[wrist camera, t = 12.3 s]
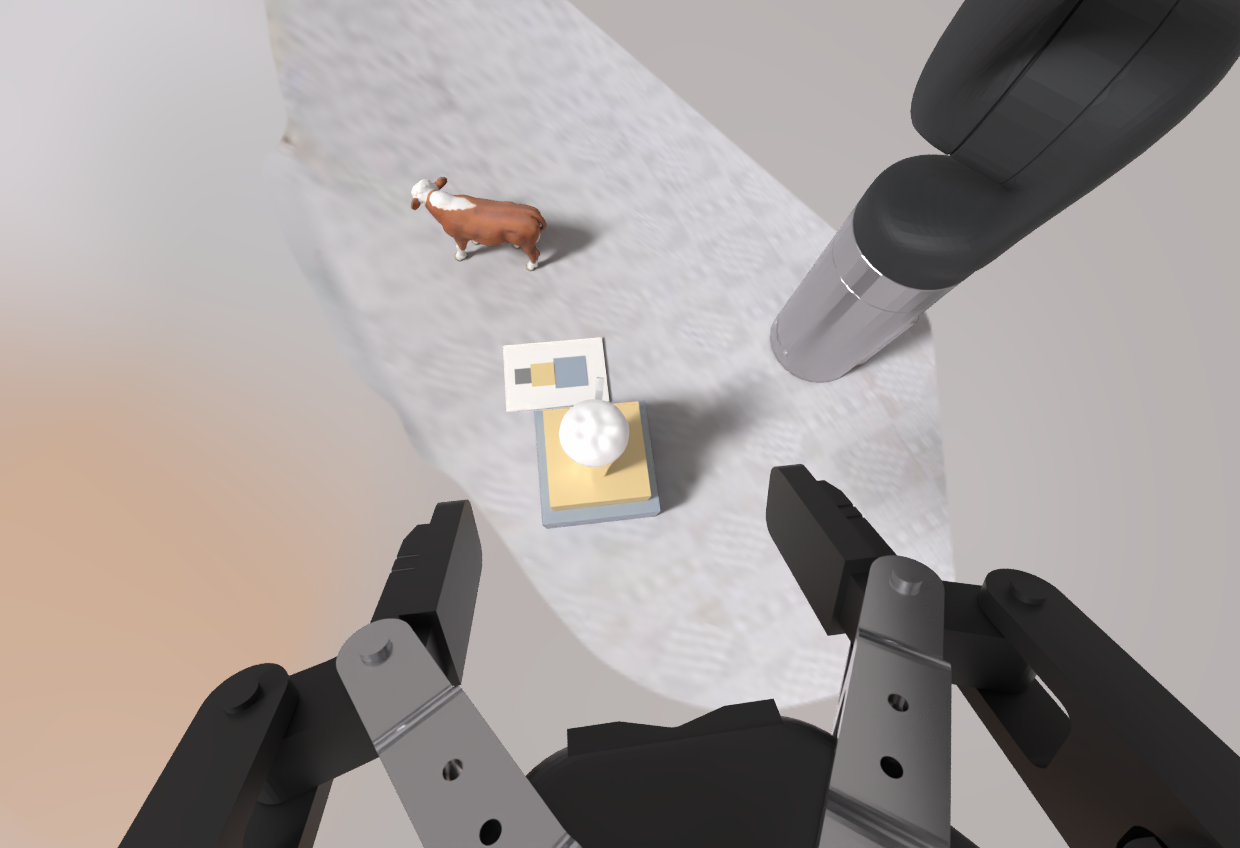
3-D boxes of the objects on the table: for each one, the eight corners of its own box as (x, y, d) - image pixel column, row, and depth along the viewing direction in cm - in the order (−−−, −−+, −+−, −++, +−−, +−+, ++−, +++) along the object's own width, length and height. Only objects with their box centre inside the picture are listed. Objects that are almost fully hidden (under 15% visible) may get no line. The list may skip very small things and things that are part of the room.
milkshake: (627, 426, 40) (636, 382, 31) (618, 490, 39) (626, 464, 29) (572, 419, 40) (565, 372, 31) (562, 483, 39) (551, 454, 29)
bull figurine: (434, 221, 54) (407, 161, 46) (554, 247, 53) (547, 191, 45) (421, 254, 52) (390, 199, 44) (544, 281, 52) (535, 230, 44)
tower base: (641, 414, 48) (648, 388, 42) (655, 516, 45) (665, 507, 39) (539, 424, 47) (529, 400, 41) (546, 528, 45) (538, 521, 38)
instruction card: (601, 338, 50) (601, 336, 50) (609, 402, 48) (609, 401, 48) (503, 347, 50) (502, 345, 49) (507, 412, 48) (506, 411, 47)
